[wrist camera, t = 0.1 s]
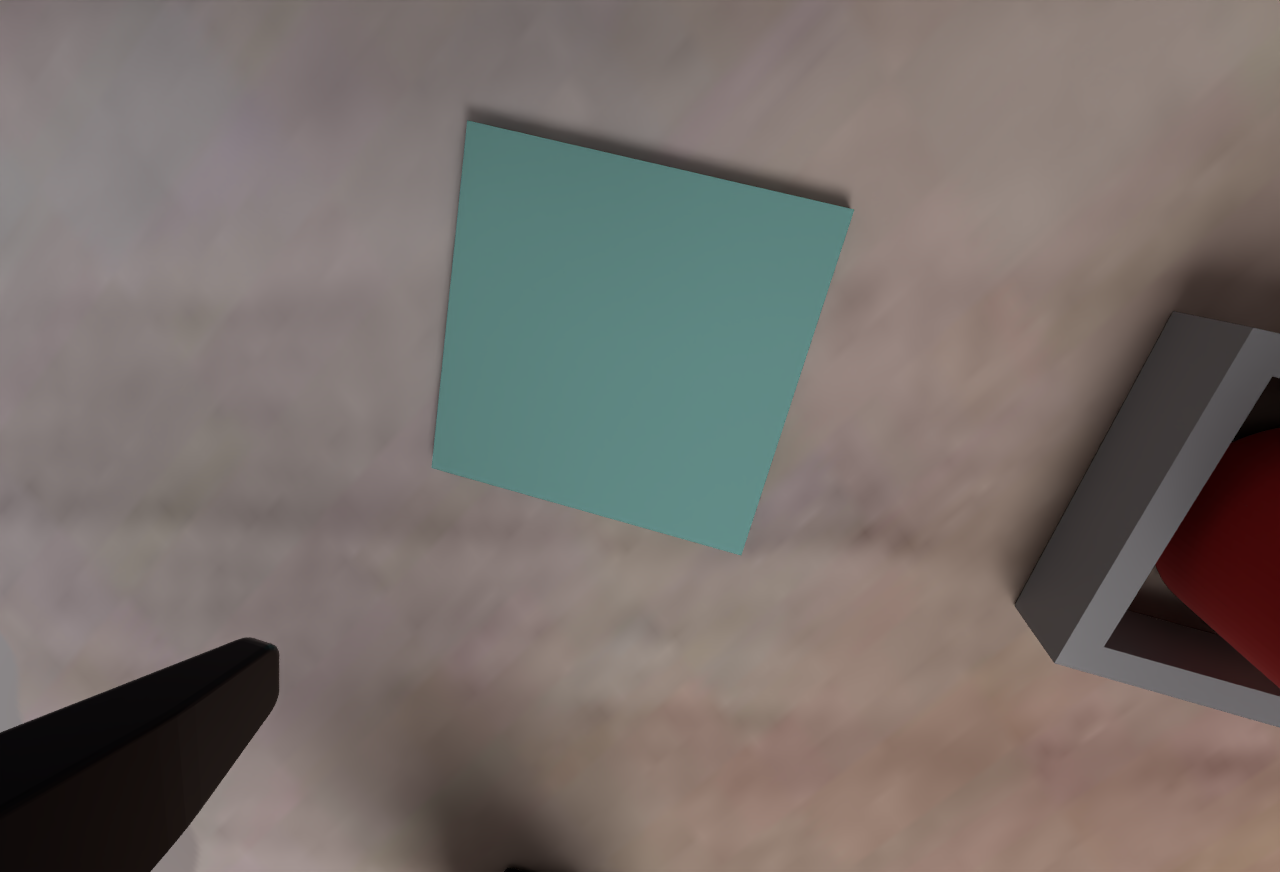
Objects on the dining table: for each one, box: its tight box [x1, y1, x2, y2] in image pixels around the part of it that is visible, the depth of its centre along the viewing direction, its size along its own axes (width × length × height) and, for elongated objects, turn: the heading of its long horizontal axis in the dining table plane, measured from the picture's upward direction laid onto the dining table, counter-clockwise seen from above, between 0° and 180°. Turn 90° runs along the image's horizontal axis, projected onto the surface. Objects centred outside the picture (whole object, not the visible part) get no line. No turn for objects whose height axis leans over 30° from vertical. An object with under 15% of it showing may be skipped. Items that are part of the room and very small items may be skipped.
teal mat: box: [432, 120, 854, 555], centre depth 20 cm, size 12×12×1 cm
